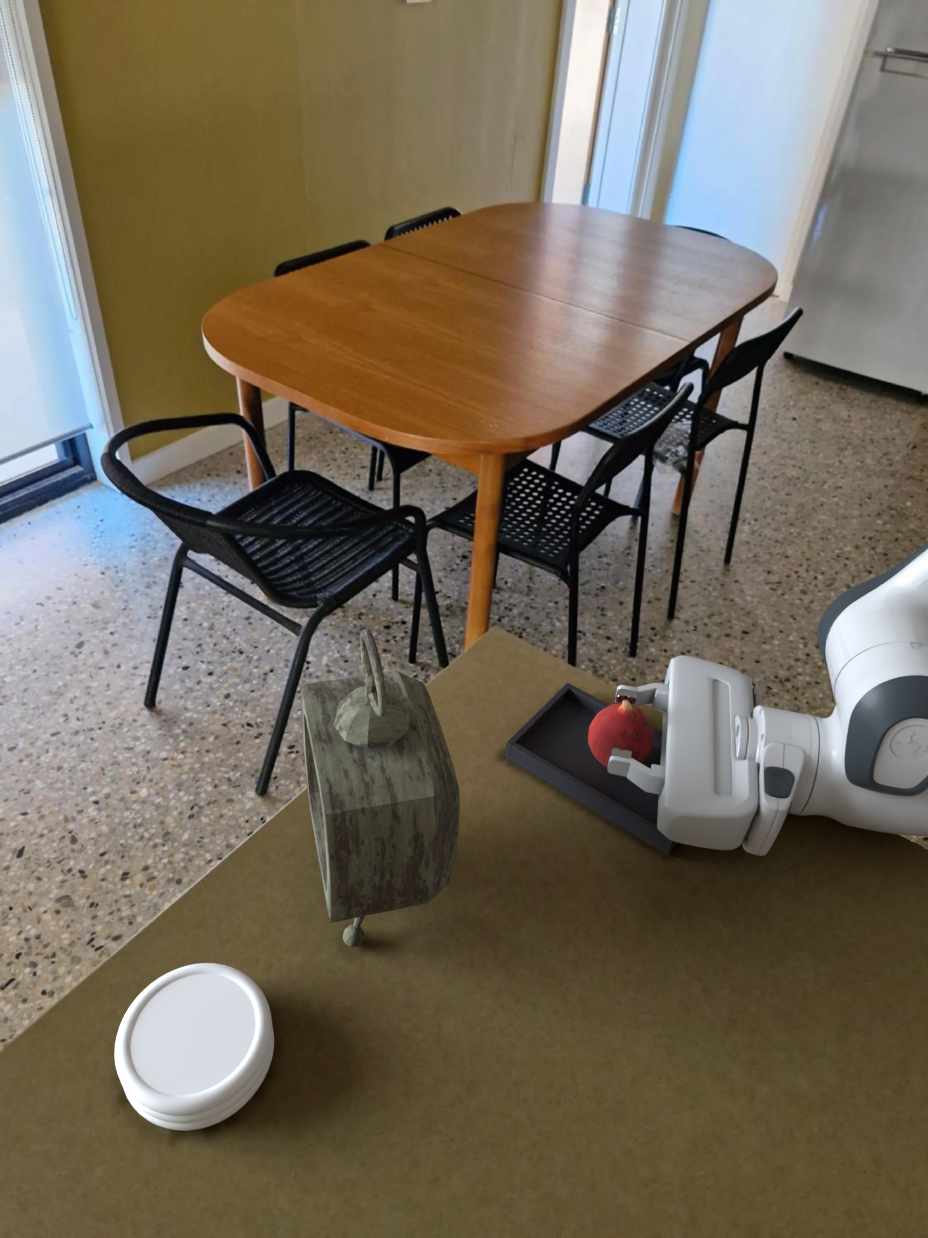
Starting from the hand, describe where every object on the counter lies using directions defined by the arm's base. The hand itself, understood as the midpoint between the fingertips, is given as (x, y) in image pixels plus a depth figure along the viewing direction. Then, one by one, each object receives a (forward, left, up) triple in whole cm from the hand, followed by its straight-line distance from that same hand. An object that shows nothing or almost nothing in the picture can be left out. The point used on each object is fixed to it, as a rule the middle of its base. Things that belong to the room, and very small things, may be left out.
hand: (612, 726), depth 80 cm
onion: (-1, 0, -5) cm, 5 cm away
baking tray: (-1, 0, -5) cm, 5 cm away
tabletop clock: (+12, +21, -6) cm, 25 cm away
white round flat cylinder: (+15, +39, -6) cm, 42 cm away
